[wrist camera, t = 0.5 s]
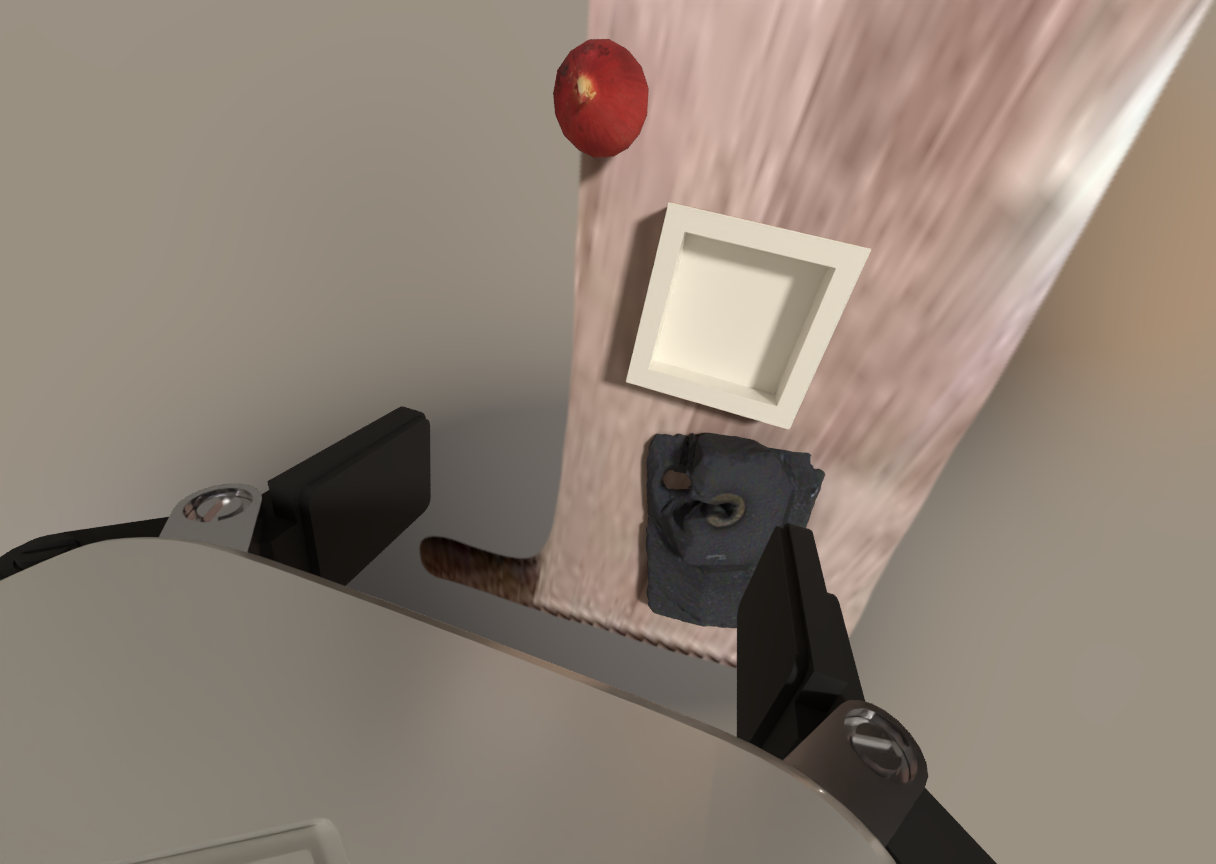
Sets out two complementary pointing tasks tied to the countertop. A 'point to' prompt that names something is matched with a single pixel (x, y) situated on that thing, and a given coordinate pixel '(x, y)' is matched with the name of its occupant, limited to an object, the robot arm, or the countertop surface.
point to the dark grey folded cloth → (718, 520)
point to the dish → (740, 312)
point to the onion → (600, 98)
